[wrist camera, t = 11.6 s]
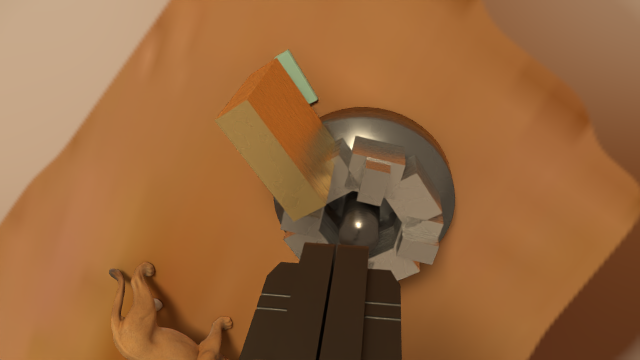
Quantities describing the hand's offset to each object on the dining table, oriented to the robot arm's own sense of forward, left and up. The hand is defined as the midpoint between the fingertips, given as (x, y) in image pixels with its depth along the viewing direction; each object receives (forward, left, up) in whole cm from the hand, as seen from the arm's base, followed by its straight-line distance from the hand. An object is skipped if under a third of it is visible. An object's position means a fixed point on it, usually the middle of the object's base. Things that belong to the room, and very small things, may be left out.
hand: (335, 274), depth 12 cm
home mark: (-1, +5, -22) cm, 22 cm away
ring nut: (-7, +4, -19) cm, 21 cm away
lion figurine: (-19, +19, -22) cm, 35 cm away
